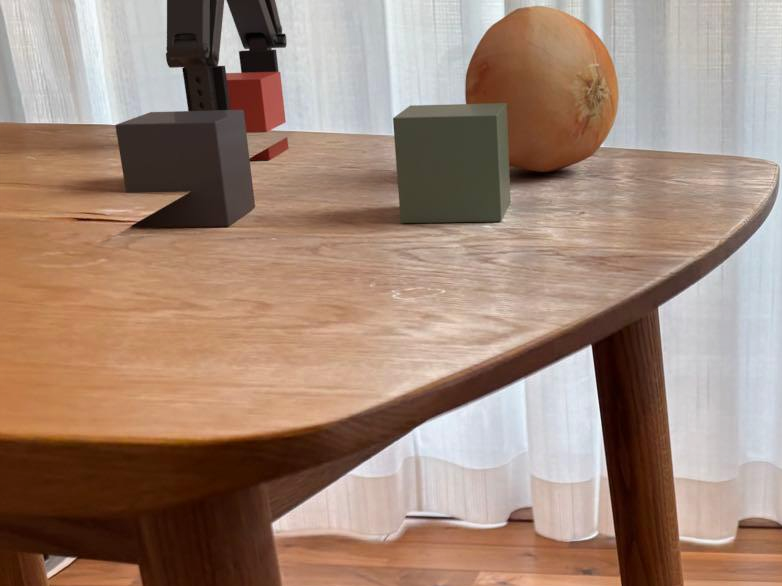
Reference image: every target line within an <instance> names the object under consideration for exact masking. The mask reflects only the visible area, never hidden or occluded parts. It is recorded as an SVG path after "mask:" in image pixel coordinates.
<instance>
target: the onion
mask: <svg viewBox="0 0 782 586" xmlns="http://www.w3.org/2000/svg"><path fill="white" fill-rule="evenodd" d="M464 85H465V89H464V90H465V91H464V94H465V104H491V103H506V104H507V124H508V149H509V167H512V168H516V169H521V170H526V171H531V172H537V173H539V172H540V173H546V172H547V173H548V172H555V171H559V170H561V169H565V168H567V167H572V166H573V165H577V164H578V163H580V162H581V163H582V162H583V161H584V160H587V159H589V158H590V157H592V156H593V155H594V154H595V153H596V152H597V151H598V150H599V149H600V148H601V146H602V145H603V144H604V142H605V141H606V139H607V138H608V136H609V134H610V132H611V130H612V128H613V126H614V123H615V121H616V118H617V113H618V108H619V96H620V95H619V82H618V78H617V72H616V69H615V64H614V62H613V59H612V57H611V54H610V53H609V51H608V48H607V46H606V45H605V44H604V42H603V40H602V39H601V37H600V36H599V35H598V34H597V33H596V32H595V30H593V29H592V28H591V27H590V26H588V25H587V24H586V23H585V22H583V21H582V20H580V19H578V18H577V17H575V16H573V15H571V14H569V13H567V12H564V11H562V10H560V9H557V8H553V7H551V6H543V5H536V6H535V5H534V6H533V5H532V6H525V7H519V8H516V9H514V10H513V11H511V12H509V13H508V14H506V15H505V16H503V17H502V18H501V19H499V20H497V21H496V22H495V23H494V24H492V25H491V26H490V27H489V28H488V29H487V30H486V31H485V33H484V34H483V36H482V37H481V39H480V40H479V42H478V44H477V46H476V48H475V50H474V52H473V54H472V55H471V58H470V61H469V63H468V66H467V69H466V74H465V84H464Z"/></svg>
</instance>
